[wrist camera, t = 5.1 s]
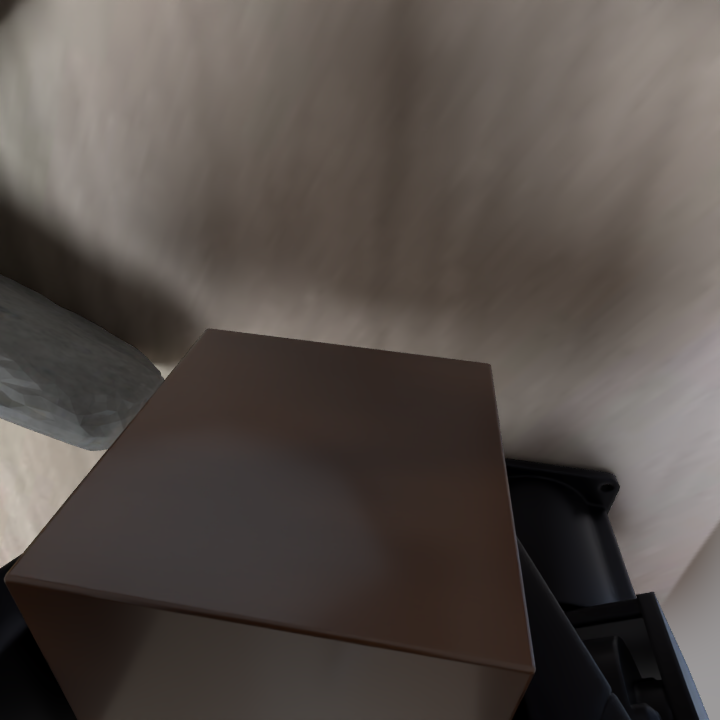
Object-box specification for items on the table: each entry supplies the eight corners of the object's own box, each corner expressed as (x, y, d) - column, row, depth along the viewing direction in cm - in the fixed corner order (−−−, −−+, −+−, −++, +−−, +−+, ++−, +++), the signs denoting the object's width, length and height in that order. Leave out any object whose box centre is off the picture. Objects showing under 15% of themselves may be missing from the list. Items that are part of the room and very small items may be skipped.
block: (491, 362, 9) (538, 672, 4) (445, 550, 11) (447, 853, 7) (206, 326, 9) (-1, 578, 5) (228, 516, 12) (109, 782, 7)
